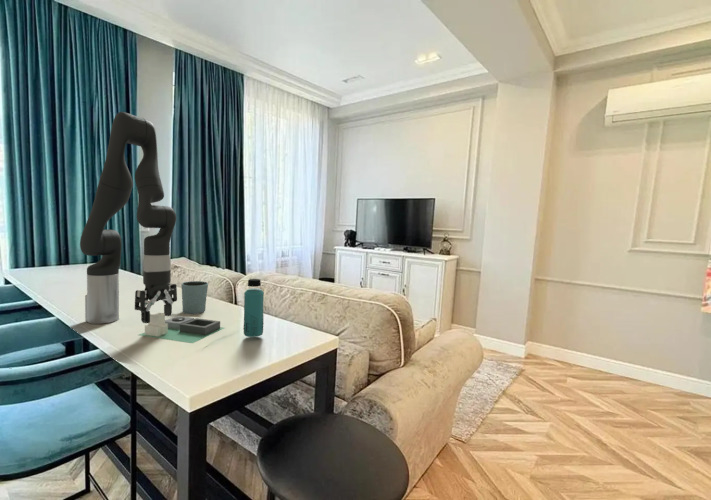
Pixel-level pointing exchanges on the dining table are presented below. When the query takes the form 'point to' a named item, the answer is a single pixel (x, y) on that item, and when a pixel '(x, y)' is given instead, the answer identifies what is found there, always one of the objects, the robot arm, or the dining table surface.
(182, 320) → the board
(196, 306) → the grey-green tapered cup
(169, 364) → the dining table surface
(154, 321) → the plug
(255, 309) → the beverage bottle
